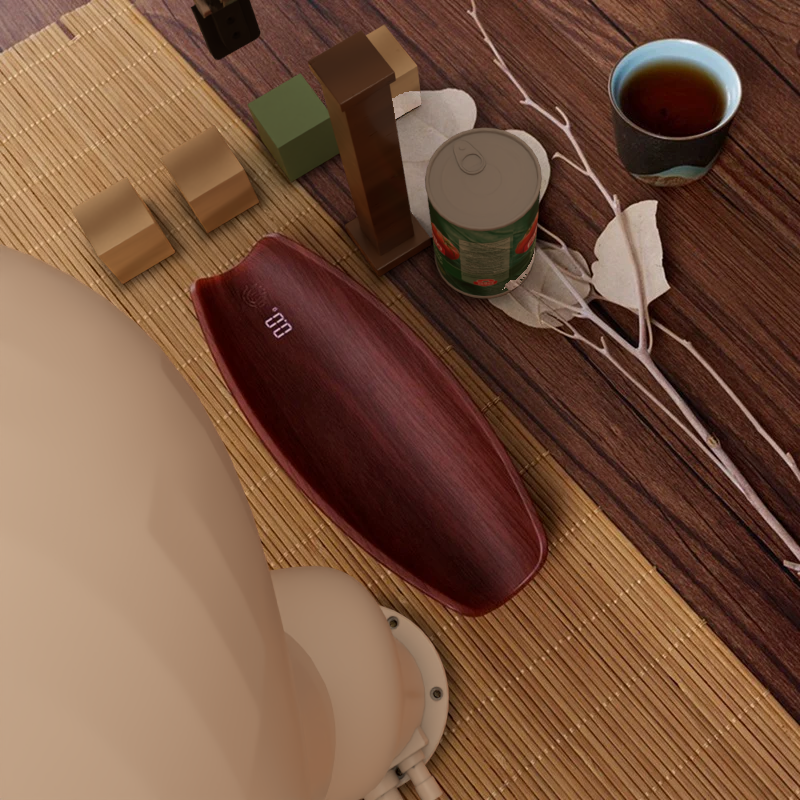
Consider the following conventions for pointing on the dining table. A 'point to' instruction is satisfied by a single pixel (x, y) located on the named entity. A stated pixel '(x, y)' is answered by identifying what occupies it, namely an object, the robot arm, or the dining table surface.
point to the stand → (369, 151)
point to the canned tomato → (483, 210)
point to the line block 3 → (396, 61)
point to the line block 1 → (122, 230)
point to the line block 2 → (210, 178)
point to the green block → (294, 127)
